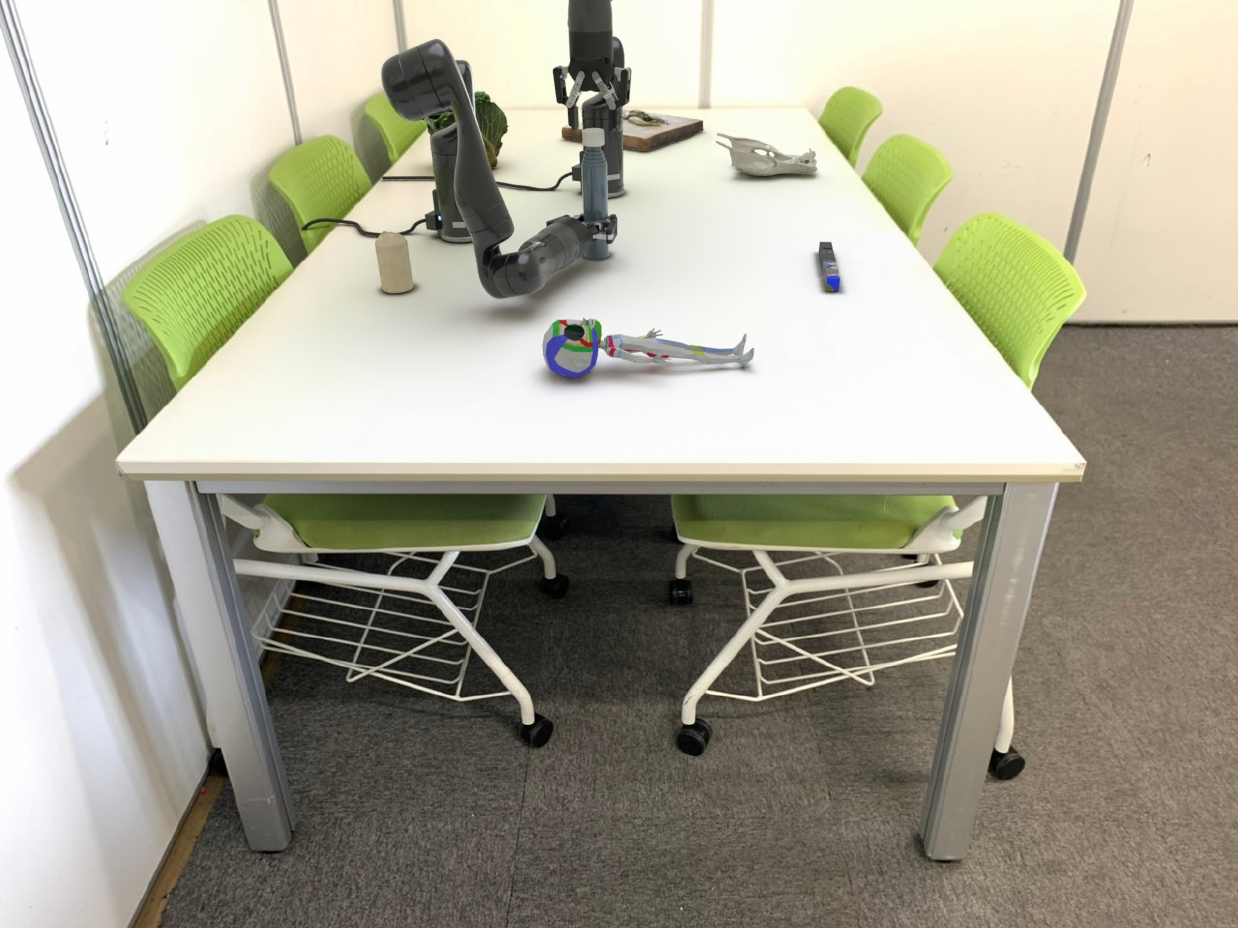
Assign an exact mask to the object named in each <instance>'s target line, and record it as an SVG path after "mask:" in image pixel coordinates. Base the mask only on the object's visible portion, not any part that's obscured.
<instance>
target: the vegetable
mask: <svg viewBox="0 0 1238 928" xmlns="http://www.w3.org/2000/svg"><path fill="white" fill-rule="evenodd" d="M474 93H475V116H476V120H477V123H478V126H479V129H480V132H481V136H482V139H483V142H484V146H485V149H486V153H487V156H488V160H489V163H490V166H491V168H494V169H495V168H497V165H498V162H499V161H498V157H499V155H500V152H501V149H502V148H503V144H504V143H503V142H502V138H503V137H504V135H506V134H507V133H508V130H509V129H508V128H509V127H510V126H509V125H508V119H507V116H506V114H505V112H504V111H503V110H502V109H501V108H500V107H499V105H498V104H497V103H496V102H495V101H492V98H491V96H490V95H489V94H488V93H486V91H485V90H477V91H474ZM422 121H424V122H425V123H426V127H427V128H426V129H427V133H428V134H429V139H430V138H431V136H432V135H433V134H434V133H436V132H438V131H440V130H442V129H445V128H447V127H449V126H451V125H452V124H453V123H455V122H456V121H455V117H454V114H453V113H444V114H440V115H432V116H429V117H427V118H425V119H423V120H422Z"/></svg>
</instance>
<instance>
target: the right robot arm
mask: <svg viewBox="0 0 1238 928" xmlns="http://www.w3.org/2000/svg"><path fill="white" fill-rule="evenodd" d="M613 1H614V0H568V4H567V5H568V6H567V31H568V50H569V51H568V53H569V63H568V65H565V66H563V65H557V66H555V67H554V68H552V77H553V85H554V93H555V101H556V103H557V104H559V105H563V106H565V107H566V109H567V125H569V126H571V129H572V130H577V129H578V128H579V121H580V120H579V106H577V104H578V102H579V99H580V97H581V95H582V94H583V93H584V92H585V93H587V92H593V93H596V94H594V95H593V96H592V97H590V98H588V99H586V100H584V101H583V102H582V103H581V109H580V112H581V121H582V131H583V130H584V129H588V128H600V129H603V130H604V138H605V143H604V145H603V146H601V149H602V153H604V156H605V160H606V163H607V185H608V199H612V198H617V197H620V196H622V195H624V193H625V187H624V186H625V183H624V181H625V180H624V175H625V174H624V173H625V172H624V148H623V110H624V107H625V106H626V105H627V104H629V103H630V98H631V84H632V68H631V67H629V66H627V67H626V55H625V48H624V44H623V41H622V40H621V38H620V37H618V36H615V35H614V29H613V24H614V23H613V21H614V20H613V6H612V2H613ZM568 74H569V76H570V77H571V79H572V81H573V82H574V83H573V85H572V88H571V90H570V92H569V95H568V92H567V82H566V79H567V78H568ZM582 133H583V132H582ZM582 140H583V139H582ZM586 149H587V148H586V146H584V145H583V144H582V150H580V151H579V153H578V156H579V163H577V164H575V165H572V166H571V171H569V172H567V173H565V174H563V175H561V176H560V177H559V178H558V180H557V181H556V184H555V185H553V186H551V187H545V188H544V187H536V186H531V185H523V184H514V183H509V182H504V181H497V180H495V181H496V183H497V186H503V187H507V188H514V189H522V190H528V191H529V190H531V191H534V192H535V191H537V192H552V191H555V190H557V189H558V188H559V187H560V185H561V183H562V181H563V180H565V179H566V178H568V177H570V176H571V181H572V182H579V184H580V185H579V187H580V195H582V171H581V164H582V160H583V157H584V154H585V150H586ZM381 179H382V180H385V181H387V180H389V181H390V180H391V181H392V180H435V177H434V175H391V176H389V175H387V176H386V175H385V176H383V175H382V177H381Z"/></svg>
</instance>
